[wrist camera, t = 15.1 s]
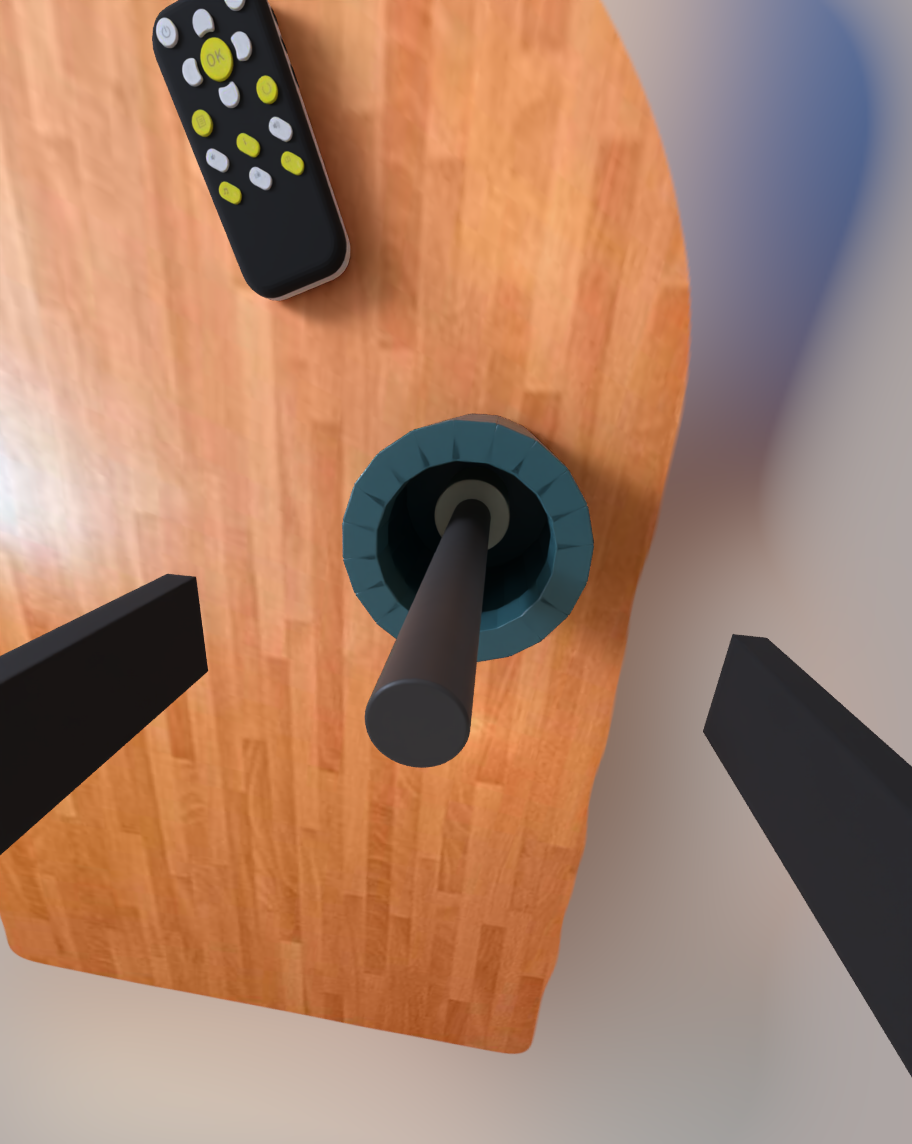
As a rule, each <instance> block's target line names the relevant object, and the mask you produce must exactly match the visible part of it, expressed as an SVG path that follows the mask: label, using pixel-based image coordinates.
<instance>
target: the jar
mask: <svg viewBox="0 0 912 1144" xmlns="http://www.w3.org/2000/svg"><path fill="white" fill-rule="evenodd" d="M471 467H483V468H486V469H489V470H491V471H493V472H495V473H496V474H497V475H499V477H500V478H501V479H502V480H503V481H504V483H505V485H506V487H507V490H508V496H509V510H510V521H509V526H508V529H507V531H506V533H505V535H504V537H503V538H502V539H501V541H500V542H499V543H497V544H496V545H495V546H494V547H492V548H490V549H488V552H487V562H486V572H485V583H484V593H483V603H482V613H481V624H480V634H479V644H478V654H477V662H480V661H486V660H492V659H498V658H504V657H509V656H512V655H514V654H516V653H518V652H520V651H522V650H524V649H526V648H528V647H530V646H533V645H535V644H537V643H539V642H541V641H542V640H543V639H544V638H545V637H546V636H547V635H548V634H550V633H551V632H552V631H553V630H554V629H555V628H556V627H557V626H558V625H559V624H560V623H561V622H562V621H563V620H565V619H566V618H567V617H568V615H569V614H570V613H571V611H572V609H573V608H574V606H575V604H576V602H577V600H578V599H579V597H580V595H581V593H582V591H583V590H584V588H585V586H586V584H587V583H586V582H587V581H588V577H589V571H590V566H591V560H592V555H593V549H594V545H593V544H594V540H593V534H592V527H591V521H590V515H589V508H588V506H587V502H586V501H585V499H584V497H583V495H582V493H581V491H580V490H579V488H578V486H577V484H576V482H575V480H574V478H573V477H572V475H571V473H570V471H569V470H568V468H567V467H566V466H565V465H564V464H563V463H562V462H561V461H560V460H559V459H558V458H557V457H556V456H555V455H554V454H553V453H552V452H551V451H550V450H549V449H548V448H547V447H546V446H545V445H544V444H542V443H541V442H540V441H539V440H538V439H537V438H536V437H535V436H534V435H533V434H531V433H530V432H529V431H528V430H527V429H526V428H525V427H523V426H521V425H519V424H517V423H515V422H513V421H510V420H508V419H506V418H503V417H501V416H497V415H487V414H468V415H464V416H460V417H456V418H452V419H449V420H445V421H442V422H438V423H435V424H431V425H428V426H425V427H421V428H418V429H415V430H413V431H410V432H409V433H407V434H406V435H404V436H403V437H401V438H400V439H398V440H397V441H395V442H394V443H392V444H391V445H389V446H388V447H386V448H385V449H383V450H382V451H380V452H379V453H378V454H377V455H376V456H375V457H374V459H373V460H372V461H371V463H370V464H369V465H368V467H367V468H366V469H365V471H364V472H363V473H362V475H361V476H360V477H359V479H358V480H357V481H356V483H355V484H354V485H355V486H354V487H353V490H352V493H351V496H350V499H349V502H348V505H347V508H346V512H345V515H344V518H343V521H344V522H343V523H342V529H343V558H344V559H343V561H344V564H345V567H346V570H347V573H348V576H349V578H350V581H351V584H352V587H353V590H354V593H356V596H357V597H358V599H359V600H360V601H361V603H362V604H363V605H364V607H365V608H366V610H367V611H368V612H369V614H370V615H371V617H372V618H373V619H374V621H375V622H376V623H377V624H378V625H379V626H380V627H381V628H383V629H384V630H385V631H387V632H388V633H389V634H391V635H392V636H393V637H394V638H396V639H397V637H398V634H399V632H400V630H401V628H402V626H403V623H404V621H405V619H406V617H407V614H408V612H409V610H410V608H411V605H412V603H413V601H414V599H415V597H416V594H417V592H418V590H419V588H420V585H421V583H422V581H423V579H424V576H425V574H426V572H427V570H428V567H429V565H430V563H431V561H432V559H433V556H434V554H435V552H436V550H437V547H438V545H439V543H440V541H441V538H442V537H441V536H440V534H439V532H438V530H437V528H436V524H435V515H434V513H435V507H436V503H437V501H438V499H439V497H440V495H441V494H442V492H443V491H444V489H445V488H446V486H447V485H448V483H449V482H450V481H451V479H452V478H453V477H454V476H455V475H456V474H457V473H459V472H460V471H462V470H464V469H467V468H471Z"/></svg>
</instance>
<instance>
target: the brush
mask: <svg viewBox="0 0 912 1144" xmlns="http://www.w3.org/2000/svg"><path fill="white" fill-rule="evenodd" d="M434 515H435V524H436V528H437V530H438V532H439V534H440V536H441V537H442V538H441V541H440V543H439V545H438V547H437V550H436V552H435V554H434V556H433V559H432V561H431V563H430V565H429V567H428V570H427V572H426V574H425V576H424V579H423V581H422V583H421V585H420V588H419V590H418V592H417V594H416V597H415V599H414V601H413V603H412V605H411V608H410V610H409V612H408V614H407V617H406V619H405V621H404V623H403V626H402V628H401V630H400V632H399V634H398V637H397V639H396V641H395V643H394V646H393V648H392V650H391V652H390V655H389V657H388V659H387V661H386V663H385V666H384V668H383V670H382V672H381V675H380V677H379V679H378V681H377V684H376V686H375V688H374V690H373V692H372V695H371V697H370V699H369V701H368V704H367V706H366V710H365V725H366V729H367V732H368V735H369V737H370V739H371V741H372V742H373V744H374V745H375V746H376V748H377V749H378V750H379V751H380V752H382V753H383V754H384V755H385V756H387V757H388V758H390V759H391V760H393V761H395V762H398V763H400V764H403V765H406V766H411V767H420V768H423V767H433V766H437V765H441V764H443V763H446V762H447V761H449V760H451V759H452V758H454V757H455V756H456V755H457V754H458V753H459V752H460V751H461V750H462V749H463V747H464V746H465V744H466V742H467V740H468V737H469V733H470V726H471V716H472V706H473V695H474V685H475V675H476V665H477V654H478V644H479V634H480V624H481V613H482V603H483V593H484V583H485V572H486V562H487V552H488V549H490V548H492V547H494V546H495V545H496V544H497V543H499V542H500V541H501V539H502V538H503V537H504V535H505V533H506V531H507V529H508V526H509V521H510V510H509V496H508V490H507V487H506V485H505V483H504V481H503V480H502V479H501V478H500V477H499V475H497V474H496V473H495V472H493V471H491V470H489V469H486V468H483V467H471V468H467V469H464V470H462V471H460V472H459V473H457V474H456V475H455V476H454V477H453V478H452V479H451V481H450V482H449V483H448V485H447V486H446V488H445V489H444V491H443V492H442V494H441V495H440V497H439V499H438V501H437V503H436V507H435V513H434Z"/></svg>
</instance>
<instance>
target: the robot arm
mask: <svg viewBox="0 0 912 1144" xmlns="http://www.w3.org/2000/svg"><path fill="white" fill-rule="evenodd" d="M207 672H208V666H207V659H206V651H205V643H204V635H203V627H202V620H201V612H200V604H199V596H198V588H197V580H196V577H192V576H183V575H174V574H166V575H164V576H162V577H160V578H158V579H156V580H154V581H152V582H150V583H148V584H146V585H144V586H142V587H140V588H138V589H136V590H134V591H132V592H129V593H127V594H125V595H123V596H121V597H119V598H117V599H115V600H113V601H111V602H109V603H107V604H105V605H103V606H101V607H99V608H97V609H95V610H93V611H91V612H89V613H87V614H85V615H83V616H81V617H79V618H77V619H75V620H73V621H71V622H69V623H67V624H65V625H62V626H60V627H58V628H56V629H54V630H52V631H50V632H48V633H46V634H44V635H42V636H40V637H38V638H36V639H34V640H32V641H30V642H28V643H26V644H24V645H22V646H20V647H18V648H16V649H14V650H12V651H10V652H8V653H6V654H4V655H2V656H0V855H1V854H2V853H3V852H4V851H5V850H7V849H8V848H9V847H10V846H11V845H12V844H13V843H15V842H16V841H17V840H18V839H19V838H20V837H21V836H22V835H24V834H25V833H26V832H27V831H28V830H29V829H30V828H31V827H33V826H34V825H35V824H36V823H37V822H38V821H39V820H40V819H42V818H43V817H44V816H45V815H46V814H47V813H48V812H50V811H51V810H52V809H53V808H54V807H55V806H56V805H57V804H59V803H60V802H61V801H62V800H63V799H64V798H65V797H66V796H68V795H69V794H70V793H71V792H72V791H73V790H74V789H75V788H77V787H78V786H79V785H80V784H81V783H82V782H83V781H85V780H86V779H87V778H88V777H89V776H90V775H91V774H92V773H94V772H95V771H96V770H97V769H98V768H99V767H100V766H101V765H103V764H104V763H105V762H106V761H107V760H108V759H109V758H111V757H112V756H113V755H114V754H115V753H116V752H117V751H118V750H120V749H121V748H122V747H123V746H124V745H125V744H126V743H127V742H129V741H130V740H131V739H132V738H133V737H134V736H135V735H136V734H138V733H139V732H140V731H141V730H142V729H143V728H144V727H146V726H147V725H148V724H149V723H150V722H151V721H152V720H153V719H155V718H156V717H157V716H158V715H159V714H160V713H161V712H162V711H164V710H165V709H166V708H167V707H168V706H169V705H170V704H172V703H173V702H174V701H175V700H176V699H177V698H178V697H179V696H181V695H182V694H183V693H184V692H185V691H186V690H187V689H188V688H190V687H191V686H192V685H193V684H194V683H195V682H196V681H197V680H199V679H200V678H201V677H202V676H203V675H204V674H205V673H207ZM703 732H704V734H705V736H706V737H707V739H708V741H709V742H710V744H711V746H712V747H713V749H714V751H715V752H716V754H717V756H718V757H719V759H720V761H721V762H722V764H723V766H724V767H725V769H726V770H727V772H728V774H729V775H730V777H731V779H732V780H733V782H734V784H735V785H736V787H737V789H738V790H739V792H740V794H741V795H742V797H743V798H744V800H745V802H746V804H747V805H748V806H749V809H750V810H751V812H752V814H753V815H754V817H755V819H756V820H757V822H758V823H759V825H760V827H761V828H762V830H763V832H764V833H765V835H766V837H767V838H768V840H769V842H770V843H771V845H772V847H773V848H774V850H775V852H776V853H777V855H778V856H779V858H780V860H781V861H782V863H783V865H784V867H785V868H786V870H787V871H788V873H789V874H790V876H791V878H792V880H793V881H794V883H795V884H796V886H797V888H798V889H799V891H800V893H801V895H802V896H803V898H804V899H805V901H806V903H807V905H808V906H809V908H810V909H811V911H812V913H813V914H814V916H815V918H816V919H817V921H818V923H819V924H820V926H821V928H822V929H823V931H824V933H825V934H826V936H827V938H828V939H829V941H830V943H831V944H832V946H833V948H834V949H835V951H836V953H837V954H838V956H839V958H840V959H841V961H842V962H843V964H844V966H845V967H846V969H847V971H848V972H849V974H850V976H851V977H852V979H853V981H854V982H855V984H856V986H857V987H858V989H859V991H860V992H861V994H862V995H863V997H864V999H865V1000H866V1002H867V1004H868V1006H869V1007H870V1009H871V1010H872V1012H873V1014H874V1015H875V1017H876V1019H877V1020H878V1022H879V1024H880V1025H881V1027H882V1029H883V1030H884V1032H885V1034H886V1035H887V1037H888V1039H889V1040H890V1042H891V1044H892V1045H893V1047H894V1048H895V1050H896V1052H897V1054H898V1055H899V1056H900V1058H901V1060H902V1062H903V1063H904V1065H905V1067H906V1068H907V1070H908V1072H909V1073H910V1075H911V1077H912V766H910V765H909V764H908V763H907V762H906V761H905V760H904V759H903V758H901V757H900V756H899V755H898V754H897V753H896V752H895V751H894V750H892V749H891V748H890V747H889V746H888V745H887V744H886V743H884V742H883V741H882V740H881V739H880V738H879V737H878V736H877V735H876V734H874V733H873V732H872V731H871V730H870V729H869V728H868V727H867V726H865V725H864V724H863V723H862V722H861V721H860V720H859V719H858V718H856V717H855V716H854V715H853V714H852V713H851V712H849V710H847V709H846V708H845V707H844V706H843V705H842V704H841V703H840V702H838V701H837V700H836V699H835V698H834V697H833V696H832V695H831V694H829V693H828V692H827V691H826V690H825V689H824V688H823V687H821V686H820V685H819V684H818V683H817V682H816V681H815V680H814V679H813V678H811V677H810V676H809V675H808V674H807V673H806V672H805V671H804V670H802V669H801V668H800V667H799V666H798V665H797V664H796V663H794V662H793V661H792V660H791V659H790V658H789V657H788V656H787V655H786V654H784V653H783V652H782V651H781V650H780V649H779V648H777V646H775V645H774V644H773V643H772V642H771V641H770V640H769V639H768V638H763V637H753V636H744V635H735V634H733V635H732V638H731V641H730V645H729V648H728V651H727V655H726V658H725V661H724V664H723V667H722V671H721V674H720V677H719V680H718V684H717V687H716V690H715V694H714V697H713V700H712V703H711V707H710V710H709V713H708V716H707V720H706V723H705V726H704V730H703Z"/></svg>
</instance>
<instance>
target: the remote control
mask: <svg viewBox="0 0 912 1144" xmlns="http://www.w3.org/2000/svg"><path fill="white" fill-rule="evenodd" d="M152 41H153V50H154V53H155V57H156V60H157V62H158V65H159V67H160V70H161V72H162V75H163V77H164V80H165V82H166V85H167V87H168V90H169V92H170V95H171V97H172V100H173V102H174V105H175V107H176V110H177V112H178V115H179V117H180V120H181V122H182V125H183V127H184V130H185V132H186V135H187V137H188V140H189V142H190V145H191V147H192V150H193V152H194V155H195V157H196V160H197V162H198V165H199V167H200V170H201V172H202V175H203V177H204V180H205V182H206V185H207V187H208V190H209V192H210V195H211V197H212V200H213V202H214V205H215V207H216V209H217V212H218V214H219V217H220V219H221V222H222V224H223V227H224V229H225V232H226V234H227V237H228V239H229V242H230V244H231V247H232V249H233V252H234V254H235V257H236V259H237V262H238V264H239V267H240V269H241V272H242V274H243V277H244V279H245V280H246V282H247V284H248V285H249V286H250V287H251V289H252V290H253V291H255V292H256V293H257V294H259V295H260V296H263V297H265V298H268V299H270V300H277V301H281V300H285V299H288V298H290V297H292V296H295V295H297V294H300V293H302V292H305V291H307V290H309V289H312V288H314V287H317V286H319V285H321V284H324V283H326V282H329V281H331V280H333V279H335V278H337V277H339V276H340V275H341V274H342V273H343V272H344V271H345V269H346V267H347V265H348V263H349V259H350V242H349V238H348V235H347V232H346V229H345V226H344V223H343V220H342V217H341V214H340V211H339V208H338V205H337V202H336V199H335V196H334V193H333V190H332V187H331V184H330V181H329V178H328V175H327V172H326V169H325V166H324V163H323V160H322V157H321V154H320V151H319V148H318V145H317V142H316V139H315V136H314V133H313V130H312V127H311V124H310V121H309V118H308V115H307V112H306V109H305V106H304V103H303V100H302V96H301V93H300V90H299V85H298V82H297V79H296V76H295V73H294V70H293V67H292V66H291V63H290V60H289V57H288V55H287V54H288V53H287V50H286V47H285V44H284V42H283V39H282V36H281V33H280V30H279V27H278V22H277V19H276V17H275V14H274V12H273V10H272V8H271V7H270V4H269V2H268V1H267V0H178V1H176V2H175V3H173V4H171V5H169V6H168V7H166V8H165V9H164V10H162V11H161V12H160V13H159V15H158V17H157V18H156V20H155V24H154V27H153V36H152Z"/></svg>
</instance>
